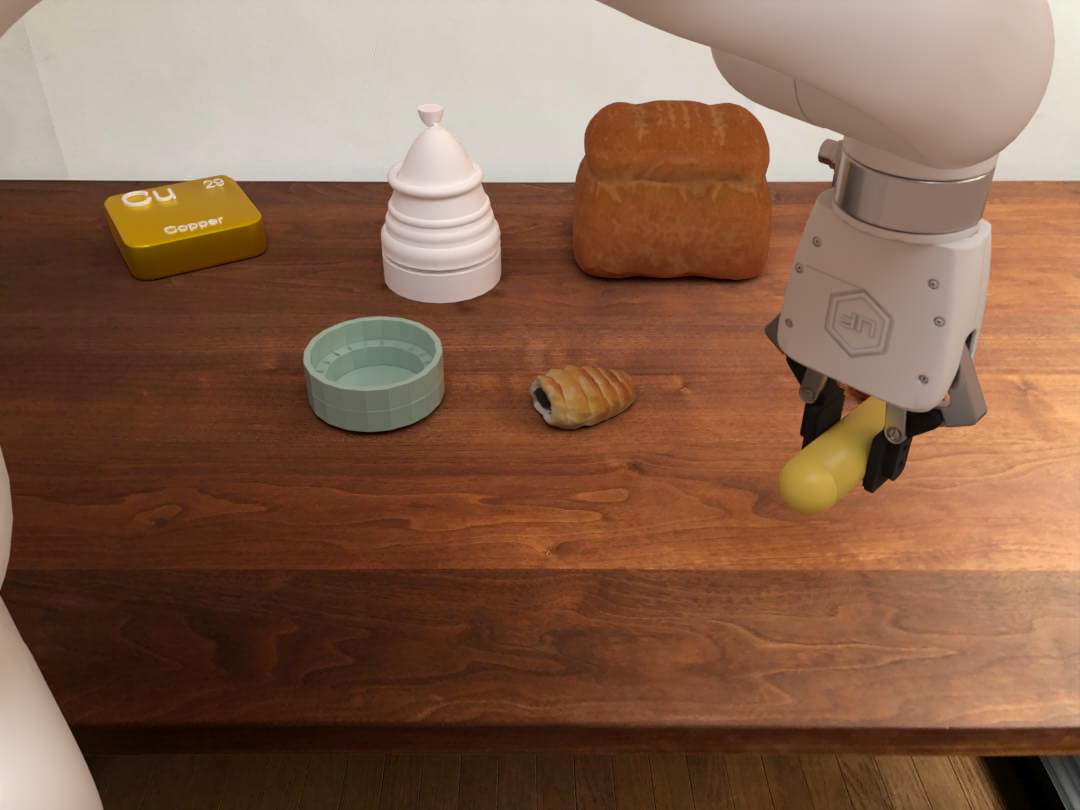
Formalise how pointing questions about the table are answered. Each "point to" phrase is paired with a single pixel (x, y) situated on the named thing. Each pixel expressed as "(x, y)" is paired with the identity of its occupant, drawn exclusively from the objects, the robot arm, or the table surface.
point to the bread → (673, 192)
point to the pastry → (581, 395)
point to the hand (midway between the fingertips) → (848, 463)
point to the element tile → (185, 227)
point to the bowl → (374, 373)
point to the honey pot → (439, 221)
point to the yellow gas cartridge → (832, 461)
